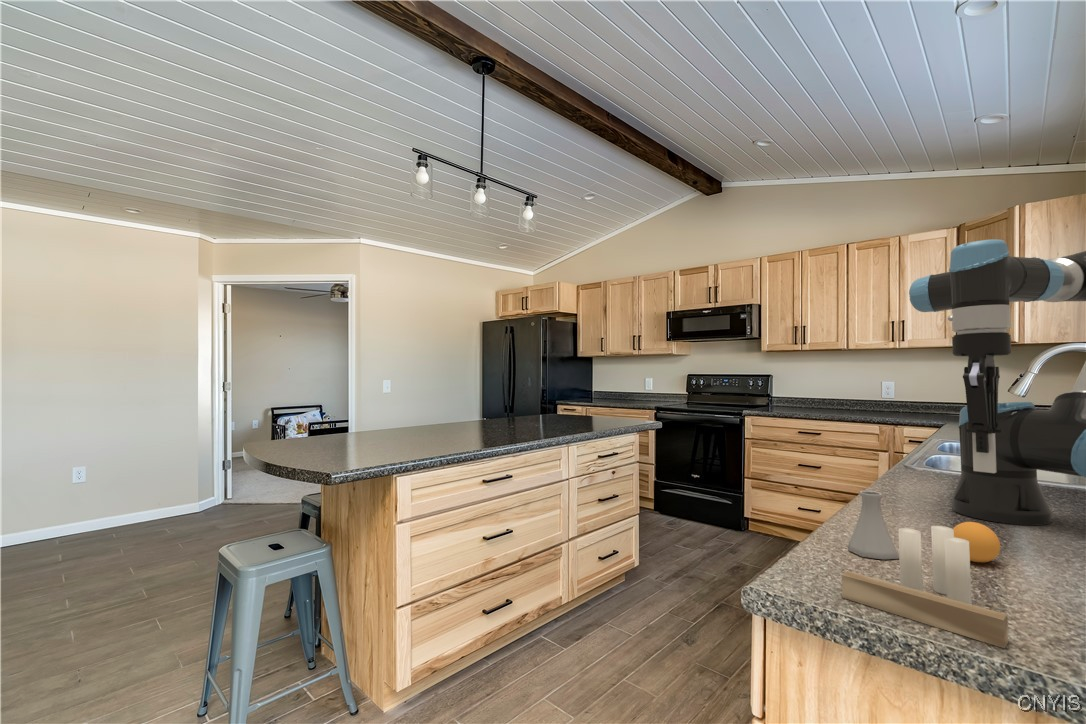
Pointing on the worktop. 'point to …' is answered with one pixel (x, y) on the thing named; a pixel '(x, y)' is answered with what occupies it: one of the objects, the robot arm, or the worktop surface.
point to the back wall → (927, 608)
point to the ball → (978, 541)
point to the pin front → (939, 556)
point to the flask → (872, 530)
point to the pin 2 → (958, 569)
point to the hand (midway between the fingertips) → (984, 471)
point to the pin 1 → (910, 558)
